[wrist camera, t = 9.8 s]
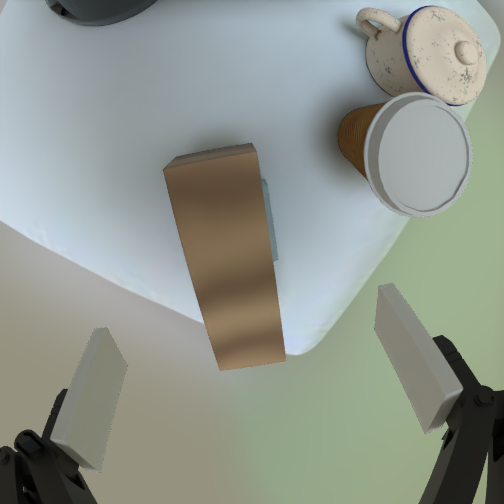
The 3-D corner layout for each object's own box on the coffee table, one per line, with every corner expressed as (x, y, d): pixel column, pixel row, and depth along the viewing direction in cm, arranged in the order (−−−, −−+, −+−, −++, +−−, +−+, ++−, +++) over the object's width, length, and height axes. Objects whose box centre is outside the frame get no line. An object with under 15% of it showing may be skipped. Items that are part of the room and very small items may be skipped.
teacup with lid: (443, 53, 25) (515, 48, 15) (418, 116, 29) (490, 131, 18) (354, -7, 22) (409, -46, 12) (323, 60, 26) (372, 40, 15)
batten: (176, 156, 24) (163, 169, 19) (251, 142, 24) (256, 151, 19) (220, 335, 32) (219, 370, 27) (279, 326, 32) (286, 361, 27)
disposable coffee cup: (349, 197, 32) (401, 246, 22) (304, 119, 29) (346, 129, 18) (417, 155, 30) (488, 185, 20) (380, 77, 27) (450, 73, 16)
